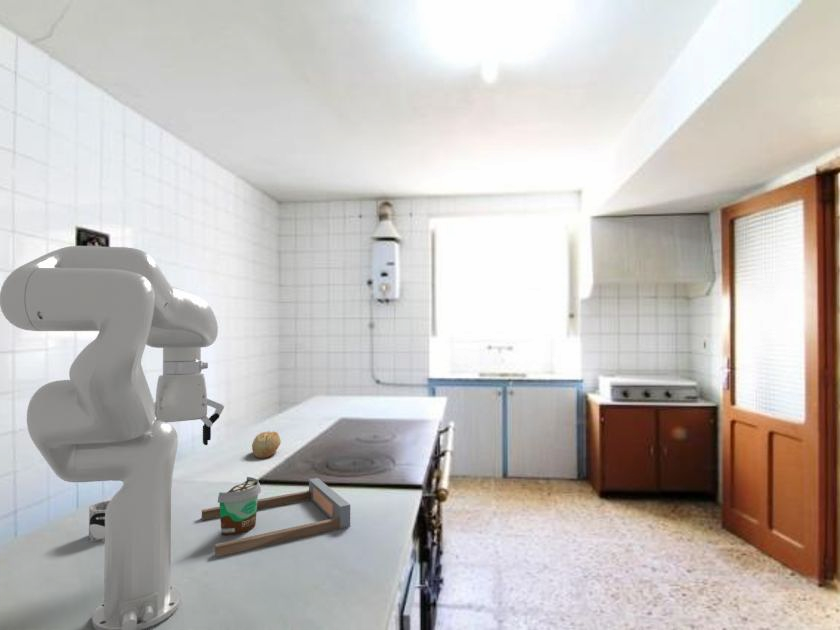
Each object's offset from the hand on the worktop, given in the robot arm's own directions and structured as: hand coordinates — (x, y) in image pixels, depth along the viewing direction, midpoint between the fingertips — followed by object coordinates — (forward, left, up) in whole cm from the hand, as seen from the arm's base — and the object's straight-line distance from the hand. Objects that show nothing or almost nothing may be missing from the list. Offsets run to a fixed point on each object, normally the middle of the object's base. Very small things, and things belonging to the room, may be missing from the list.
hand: (181, 446), depth 107 cm
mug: (+12, +12, -21) cm, 27 cm away
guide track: (0, -19, -21) cm, 28 cm away
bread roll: (+63, -33, -21) cm, 74 cm away
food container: (0, -14, -21) cm, 25 cm away
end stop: (0, -34, -21) cm, 40 cm away
